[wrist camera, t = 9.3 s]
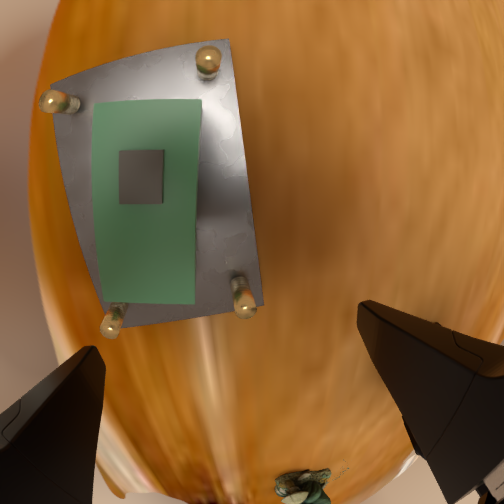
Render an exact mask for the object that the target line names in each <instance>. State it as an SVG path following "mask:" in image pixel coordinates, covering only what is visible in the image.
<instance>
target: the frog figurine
mask: <svg viewBox="0 0 504 504" xmlns="http://www.w3.org/2000/svg"><path fill="white" fill-rule="evenodd" d="M343 461H344V460H343ZM340 469H341V468H340ZM347 469H349V467H348V468H347ZM345 471H346V470H345ZM343 472H344V471H343ZM330 475H331V471H330V470H329V469H328V468H327V469H323V470H319V471H309V470H306V471H302V472H295V473H289V474H285V475H282V476H280V477H278V478H277V479H275V482H276V484H277V485H276V486H275V492H276V494H277V495H278V496H281V497H284V498H283V499H282V500H281V501H282V502H283V503H285V504H331V501H330V498H329V497H328V496H327V495H326V494H325V492H324V491H323V489H324V488H325V486H326V484H327V480H328V479H329V477H330ZM340 475H341V474H340ZM342 475H343V474H342ZM339 477H340V476H339ZM339 477H338V478H339ZM336 479H337V478H336ZM334 480H335V479H334ZM328 483H329V482H328Z"/></svg>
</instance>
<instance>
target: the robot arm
mask: <svg viewBox="0 0 504 504" xmlns="http://www.w3.org/2000/svg"><path fill="white" fill-rule="evenodd" d="M357 328H358V330H359V333H360V335H361V337H362V339H363V342H364V344H365V346H366V348H367V351H368V353H369V355H370V358H371V360H372V362H373V364H374V366H375V368H376V369H377V371H378V373H379V374H380V376H381V378H382V380H383V381H384V383H385V385H386V387H387V388H388V390H389V392H390V394H391V395H392V397H393V399H394V401H395V403H396V404H397V406H398V408H399V410H400V412H401V413H402V415H403V416H402V418H403V421H404V425H405V428H406V430H407V432H408V435H409V437H410V440H411V443H412V445H413V448H414V450H415V453H416V454H417V455H421V456H422V457H423V458H424V459H425V460H426V461H427V463H428V465H429V466H430V469H431V471H432V473H433V475H434V477H435V479H436V481H437V483H438V485H439V486H440V489H441V491H442V493H443V495H444V497H445V499H446V501H447V503H448V504H455V503H456V502H458V501H459V500H461V499H462V498H464V497H465V496H467V495H468V494H470V493H471V492H472V491H474V490H476V491H477V493H478V494H479V496H480V498H479V501H478V504H504V346H502V345H498V344H494V343H491V342H487V341H484V340H480V339H477V338H473V337H470V336H468V335H465V334H462V333H459V332H456V331H454V330H453V331H452V330H451V329H448V328H445V327H443V326H441V325H440V324H439V323H435V324H434V323H432V322H429V321H426V320H424V319H421V318H418V317H415V316H413V315H410V314H407V313H405V312H402V311H399V310H396V309H394V308H391V307H388V306H386V305H383V304H380V303H378V302H375V301H372V300H366V301H362V302H360V303H359V304H358V311H357ZM105 374H106V366H105V363H104V361H103V359H102V357H101V355H100V353H99V351H98V349H97V348H96V346H84V347H83V348H81V349H80V350H79V351H78V352H76V353H75V354H74V355H73V356H71V357H70V358H69V359H68V360H66V361H65V362H64V363H63V364H61V365H60V366H59V367H58V368H56V369H55V370H54V371H53V372H52V373H50V374H49V375H48V376H47V377H45V378H44V379H43V380H42V381H40V382H39V383H38V384H37V385H36V386H34V387H33V388H32V389H31V390H29V391H28V392H27V393H26V394H25V395H24V396H22V397H21V399H19V400H17V401H16V402H15V403H14V404H13V405H11V406H10V407H9V408H8V409H6V410H5V411H4V412H3V413H1V414H0V504H92V494H93V480H94V469H95V459H96V451H97V443H98V435H99V428H100V422H101V415H102V409H103V400H104V386H105Z"/></svg>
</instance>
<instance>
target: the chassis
mask: <svg viewBox="0 0 504 504" xmlns="http://www.w3.org/2000/svg"><path fill="white" fill-rule="evenodd" d="M50 86H51V89H50V90H47V91H45V92H44V93H43V94H42V96H41V97H40V100H39V107H40V109H41V111H43V112H48V113H53V120H54V128H55V135H56V142H57V149H58V155H59V160H60V166H61V171H62V176H63V181H64V186H65V190H66V194H67V199H68V203H69V207H70V211H71V215H72V218H73V222H74V226H75V229H76V233H77V236H78V240H79V243H80V246H81V249H82V253H83V256H84V259H85V262H86V265H87V268H88V271H89V273H90V276H91V279H92V282H93V285H94V287H95V290H96V293H97V295H98V298H99V300H100V303H101V305H102V308H103V310H104V313H105V317H104V319H103V321H102V324H101V326H100V332H101V333H102V335H103V336H105V337H106V338H109V339H114V338H116V337H117V336H118V334H119V331H120V329H121V328H127V327H135V326H142V325H149V324H157V323H163V322H170V321H177V320H183V319H190V318H196V317H202V316H208V315H214V314H220V313H225V312H231V311H235V313H236V315H237V316H238V317H239V318H241V319H249V318H251V317H253V316H254V315H255V313H256V311H257V308H256V307H258V306H263V305H264V301H263V293H262V286H261V278H260V270H259V262H258V254H257V246H256V238H255V230H254V223H253V215H252V207H251V199H250V192H249V184H248V176H247V169H246V161H245V154H244V146H243V138H242V131H241V123H240V116H239V109H238V101H237V94H236V86H235V79H234V72H233V64H232V57H231V50H230V42H229V39H221V40H212V41H204V42H197V43H191V44H185V45H179V46H174V47H169V48H164V49H159V50H154V51H150V52H146V53H142V54H138V55H134V56H130V57H127V58H123V59H120V60H116V61H113V62H110V63H106V64H103V65H100V66H97V67H94V68H91V69H89V70H86V71H83V72H80V73H78V74H75V75H72V76H70V77H67V78H65V79H62V80H60V81H58V82H55V83H53V84H51V85H50ZM147 99H202V120H201V134H200V150H199V169H198V191H197V223H196V286H195V304H152V303H125V302H105V301H104V299H103V293H102V287H101V281H100V274H99V267H98V259H97V251H96V241H95V231H94V218H93V202H92V167H91V158H92V124H93V109H94V103H103V102H114V101H127V100H147Z"/></svg>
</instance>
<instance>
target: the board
mask: <svg viewBox="0 0 504 504" xmlns="http://www.w3.org/2000/svg"><path fill="white" fill-rule="evenodd" d="M201 120H202V99H147V100H127V101H114V102H103V103H94V109H93V124H92V158H91V167H92V202H93V218H94V231H95V241H96V251H97V259H98V267H99V274H100V281H101V287H102V293H103V299H104V301H105V302H125V303H152V304H195V286H196V223H197V191H198V169H199V150H200V134H201Z"/></svg>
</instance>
